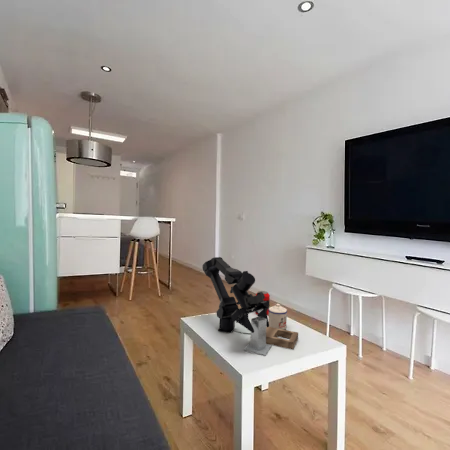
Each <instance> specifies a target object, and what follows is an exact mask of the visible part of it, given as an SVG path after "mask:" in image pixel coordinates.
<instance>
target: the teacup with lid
mask: <svg viewBox="0 0 450 450" xmlns="http://www.w3.org/2000/svg"><path fill="white" fill-rule="evenodd" d="M268 310H269V314H268V322H269V327H272V328H278V329H283V330H287V316H288V315H287V313H288V309H287V308H285V307H283V306H282V305H281V304H280V303H276V304H275V305H273V306H269V309H268Z"/></svg>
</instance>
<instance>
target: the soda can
mask: <svg viewBox="0 0 450 450" xmlns="http://www.w3.org/2000/svg"><path fill="white" fill-rule="evenodd" d="M259 292H262V293H263V294H264V296H265V299H263V300H264V301H267V302H268V303H269V304H270V294H269V292H268V291H265V290H259V291H257V292H256V294H255V296H256V295H257V293H259ZM259 303H260V302H259ZM259 303H258V304H259ZM258 304H257V305H258ZM257 305H256V306H257ZM254 313H255V314H256V315H257V314H258V313H256V312H254ZM267 316H269V310H267Z"/></svg>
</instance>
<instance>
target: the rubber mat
mask: <svg viewBox="0 0 450 450" xmlns="http://www.w3.org/2000/svg"><path fill="white" fill-rule="evenodd" d="M250 346H251V341H250V342H249V343H248V344H247V345H246V347H244V349H243V351H244V352H246V353H247V352H248V353H250V354H251V353H252V354H255V355H260V356H264V357H266V356H267V355H268V353H269V351H270V350H271V348H272V346H273V345H270V344H266V348H263V349H261V350H259V351H256V350H254V349H252V348H251V347H250Z"/></svg>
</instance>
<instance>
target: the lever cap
mask: <svg viewBox="0 0 450 450" xmlns="http://www.w3.org/2000/svg"><path fill="white" fill-rule="evenodd" d="M250 320H251V321H250V323H251V325H252V327H253V329H254V333H252V332H251V331H250V342H251V346H250V347H251V348H252V349H254V350H256V351H259V350H261V349H263V348H266V327H267V326H266V325H267V319H266V318H263V317H260V316H255V317H253V318H251V319H250Z"/></svg>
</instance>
